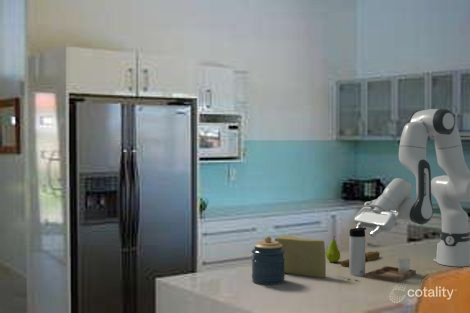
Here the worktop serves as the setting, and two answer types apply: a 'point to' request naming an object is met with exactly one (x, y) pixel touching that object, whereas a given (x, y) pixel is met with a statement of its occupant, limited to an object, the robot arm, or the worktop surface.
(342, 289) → the worktop surface
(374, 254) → the tap handle
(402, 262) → the white egg
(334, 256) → the fruit
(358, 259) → the travel mug
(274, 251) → the canister
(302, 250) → the cheese
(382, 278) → the tray
